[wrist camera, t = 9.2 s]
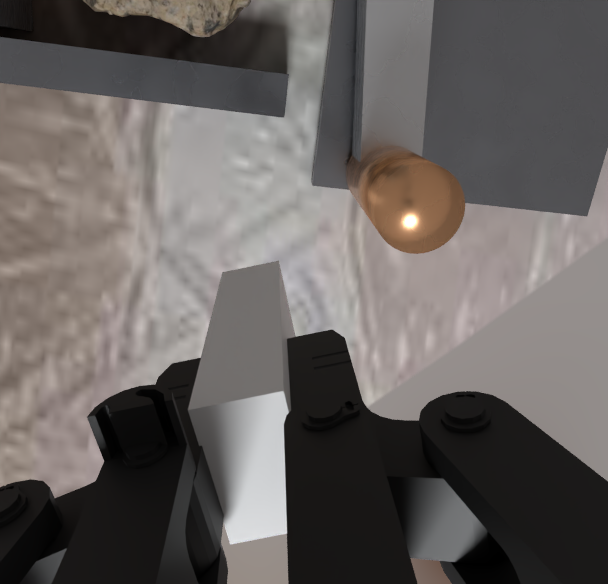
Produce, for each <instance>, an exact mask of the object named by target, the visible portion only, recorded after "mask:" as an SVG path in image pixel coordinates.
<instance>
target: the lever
mask: <svg viewBox="0 0 608 584" xmlns="http://www.w3.org/2000/svg"><path fill="white" fill-rule="evenodd" d="M433 7H434V0H357V28H356V57H355V87H354V116H353V145H352V156H351V158H350V160H349V162H348V165H347V169H346V180H347V185H348V188H349V190H350V191H351V193H352V195H353V196H354V197H355V199H356V200H357V202H358V203H359V205H360V206H361V207H362V209H363V210H364V212H365V213H366V215H367V216H368V217H369V219H370V220H371V222H372V223H373V225H374V226H375V227H376V229H377V230H378V232H379V233H380V235H381V236H382V237H383V239H384V240H385V241H386V242H387V243H388V244H389V245H391V246H392V247H394V248H395V249H398V250H400V251H403V252H406V253H414V254H418V253H425V252H429V251H432V250H435V249H437V248H439V247H441V246H442V245H444V244H445V243H446V242H448V241H449V240H450V239H451V238H452V237H453V235H454V234H455V233H456V232H457V230H458V228H459V227H460V224H461V222H462V219H463V216H464V211H465V198H464V193H463V190H462V187H461V185H460V184H459V182H458V180H457V179H456V178H455V177H454V176H453V175H452V174H451V173H450V172H449V171H448V170H446V169H444V168H442V167H441V166H439V165H437V164H435V163H433V162H431V161H429V160H427V159H425V158H423V157H422V150H423V137H424V124H425V111H426V98H427V85H428V72H429V59H430V46H431V33H432V20H433Z"/></svg>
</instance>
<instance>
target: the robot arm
mask: <svg viewBox="0 0 608 584" xmlns="http://www.w3.org/2000/svg"><path fill="white" fill-rule="evenodd" d="M87 418H88V421H89V423H90V426H91V428H92V431H93V433H94V436H95V439H96V441H97V444H98V446H99V449H100V451H101V454H102V456H103V459H104V464H103V466H102V468H101V470H100V473H99V475H98V477H97V480H96V481H95V482H93V483H91V484H89V485H87V486H85V487H82V488H80V489H77V490H75V491H72V492H70V493H67V494H65V495H62V496H60V497H57V498H54V496H53V494H52V492H51V489H50V487H49V486H48V485H47V484H46V483H44V482H43V481H38V480H25V481H20V482H14V483H11V484H7V485H6V486H2V487H0V584H227V575H228V568H227V561H226V557H225V554H224V551H223V548H222V545H221V536H222V527H223V523H224V526H225V529H226V532H227V535H228V538H229V542H230V544H235V543H241V542H245V541H250V540H255V539H261V538H266V537H271V536H276V535H282V534H287V545H288V546H287V547H288V580H289V584H417V580H416V577H415V574H414V570H413V566H412V563H411V559H410V558H417V559H427V560H437V561H440V563H441V566H442V568H443V571H444V573H445V574H446V576H447V577H448V578H449V580H450V581H451V583H452V584H608V481H606V480H605V479H604V478H603V477H601V476H600V475H598V474H597V473H596V472H595V471H594V470H592V469H591V468H590V467H588V466H587V465H586V464H585V463H583V462H582V461H581V460H579V459H578V458H577V457H576V456H574V455H573V454H572V453H570V452H569V451H568V450H567V449H565V448H564V447H563V446H561V445H560V444H559V443H558V442H556V441H555V440H553V439H552V438H551V437H550V436H549V435H547V434H546V433H545V432H543V431H542V430H541V429H540V428H538V427H537V426H536V425H535V424H533V423H532V422H531V421H529V420H528V419H527V418H526V417H524V416H523V415H522V414H520V413H519V412H518V411H517V410H515V409H514V408H512V407H511V406H510V405H509V404H508V403H506V402H505V401H503V400H501V399H499V398H497V397H495V396H493V395H489V394H484V393H480V392H470V391H469V392H468V391H467V392H455V393H451V394H447V395H442V396H440V397H438V398H436V399H434V400H432V401H430V402H429V403H428V404H427V405H426V406H425V407H424V408H423V409H422V411H421V413H420V418H419V421H404V420H392V419H388V418H384V417H380V416H379V415H377V414H375V413H372V412H371V411H370V410H369V409H368V408H367V407H366V406H365V404H364V403H363V401H362V398H361V394H360V390H359V387H358V383H357V380H356V376H355V373H354V369H353V366H352V363H351V359H350V355H349V352H348V348H347V344H346V341H345V338H344V337H342V336H341V335H340V334H338V333H337V332H335V331H334V330H328V331H323V332H318V333H313V334H308V335H303V336H298V337H295V332H294V328H293V323H292V319H291V314H290V310H289V305H288V301H287V296H286V292H285V287H284V283H283V278H282V274H281V270H280V265H279V261H276V262H271V263H266V264H261V265H256V266H252V267H247V268H242V269H237V270H232V271H227V272H223V273H222V277H221V280H220V284H219V288H218V292H217V296H216V300H215V304H214V308H213V312H212V316H211V320H210V324H209V328H208V332H207V336H206V340H205V344H204V348H203V352H202V356H201V358H197V359H193V360H188V361H183V362H178V363H173V364H171V365H170V366H169V367H168V368H167V369H166V370H165V371H164V372H163V373H162V374H161V375H160V376H159V377H158V380H157V382H156V385H146V386H138V387H135V388H131V389H128V390H124V391H122V392H120V393H118V394H116V395H114V396H111V397H109V398H107V399H106V400H105V401H103V402H102V403H100V404H99V405H98V406H96V407H95V408H94V409H93V411H92V412H91V413H90V414H89V415H88V417H87Z"/></svg>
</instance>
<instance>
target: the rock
mask: <svg viewBox="0 0 608 584" xmlns="http://www.w3.org/2000/svg"><path fill="white" fill-rule="evenodd" d="M83 1H84V2H85V3H86V4H87V5H89V6H90V7H91V8H92V9H93V10H94V11H96V12H108V13H109V14H110V15H113V13H114V14H115V15H117V16H121V17H124V16H128V15H147V16H150V17H153V18H157V19H160V20H163V21H166V22H169V23H171V24H173V25H175V26H177V27H179V28H181V29H183V30H184V31H186V32H188V33H189V34H190V35H193V36H197V37H210V36H212V35H213V34H215V33H217V32H219V31H221V30H223V29H225V28H226V27H227V26H228V25H229V24H231V23H232V22H233V21H234V20H235V19H236V18H237V16H238V14H239V12H240V11H241V10H242V9H243V8H246V7H247V6H248V5H249V4H250V2H251V0H83Z"/></svg>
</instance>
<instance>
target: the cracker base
mask: <svg viewBox="0 0 608 584" xmlns="http://www.w3.org/2000/svg"><path fill="white" fill-rule="evenodd" d="M0 27H4V28H12V29H19V30H27V31H33V16H32V0H0ZM356 28H357V0H334V6H333V14H332V22H331V30H330V38H329V46H328V54H327V62H326V70H325V78H324V86H323V94H322V102H321V110H320V118H319V126H318V134H317V142H316V150H315V158H314V166H313V174H312V182H311V183H312V185H313V186H321V187H330V188H339V189H348V190H349V188H348V185H347V180H346V169H347V165H348V162H349V160H350V158H351V156H352V145H353V116H354V87H355V57H356ZM288 76H289V74H281V73H274V72H266V71H258V70H251V69H243V68H235V67H228V66H220V65H212V64H204V63H197V62H189V61H181V60H174V59H166V58H158V57H151V56H143V55H135V54H127V53H120V52H112V51H104V50H97V49H89V48H81V47H73V46H66V45H58V44H50V43H43V42H35V41H27V40H20V39H12V38H4V37H0V83H7V84H15V85H23V86H31V87H39V88H47V89H56V90H64V91H72V92H80V93H88V94H96V95H104V96H113V97H121V98H129V99H137V100H145V101H153V102H162V103H170V104H178V105H186V106H194V107H202V108H210V109H219V110H227V111H235V112H243V113H251V114H259V115H268V116H276V117H284V114H285V105H286V95H287V85H288ZM607 148H608V0H434V7H433V20H432V33H431V46H430V59H429V72H428V85H427V98H426V111H425V124H424V137H423V150H422V157H423V158H425V159H427V160H429V161H431V162H433V163H435V164H437V165H439V166H441V167H442V168H444V169H446V170H448V171H449V172H450V173H451V174H452V175H453V176H454V177H455V178H456V179H457V180H458V182H459V184H460V185H461V187H462V190H463V193H464V198H465V203H473V204H482V205H491V206H500V207H509V208H518V209H526V210H535V211H544V212H553V213H562V214H571V215H580V216H587V215H588V211H589V208H590V205H591V201H592V198H593V195H594V191H595V188H596V185H597V181H598V178H599V175H600V171H601V168H602V165H603V161H604V158H605V155H606V151H607Z"/></svg>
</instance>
